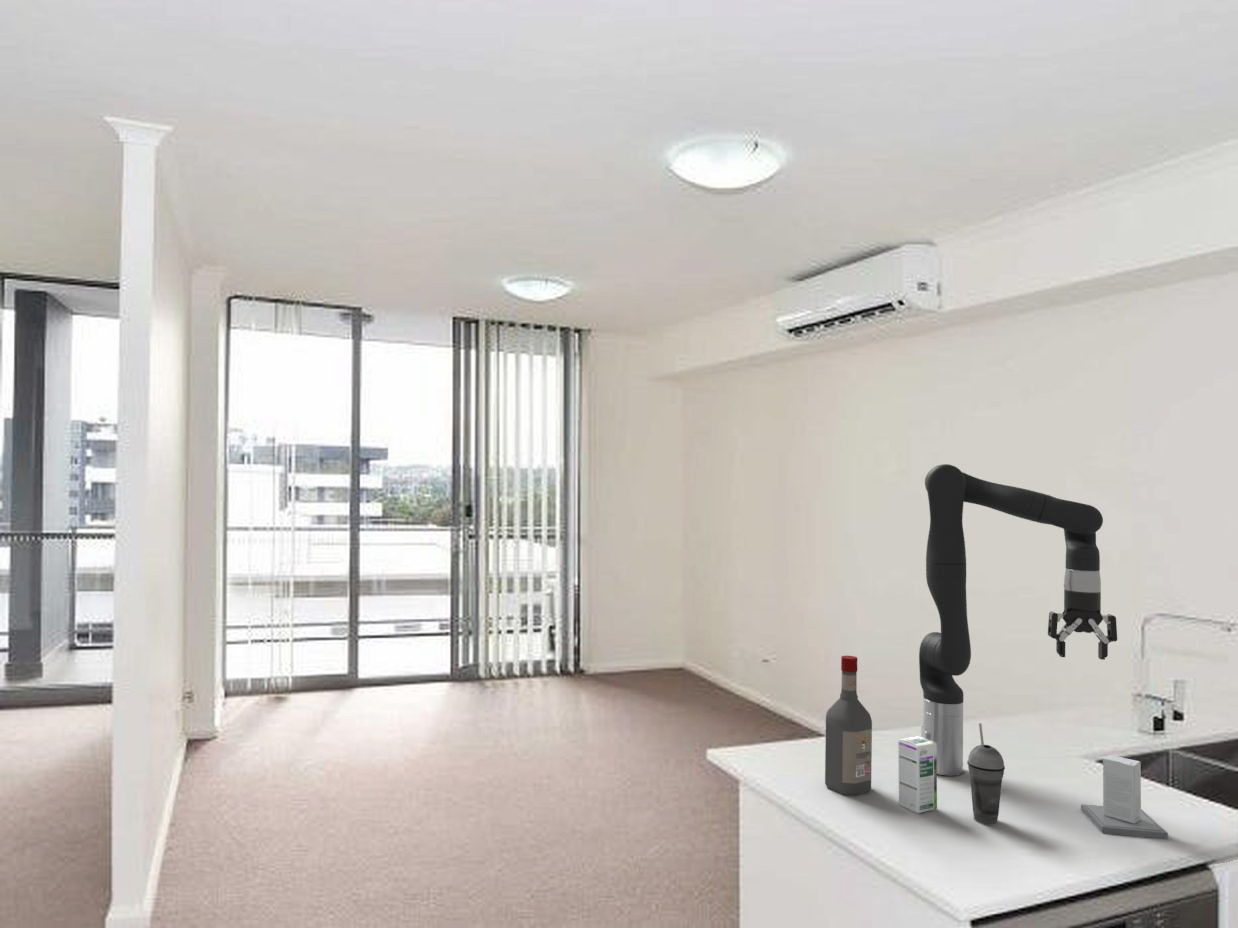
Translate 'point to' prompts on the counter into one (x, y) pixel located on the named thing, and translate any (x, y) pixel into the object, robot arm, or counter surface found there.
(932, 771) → the syrup box
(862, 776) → the liquor
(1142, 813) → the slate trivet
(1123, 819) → the skincare box
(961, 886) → the counter surface
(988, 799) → the beverage cup
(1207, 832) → the counter surface
